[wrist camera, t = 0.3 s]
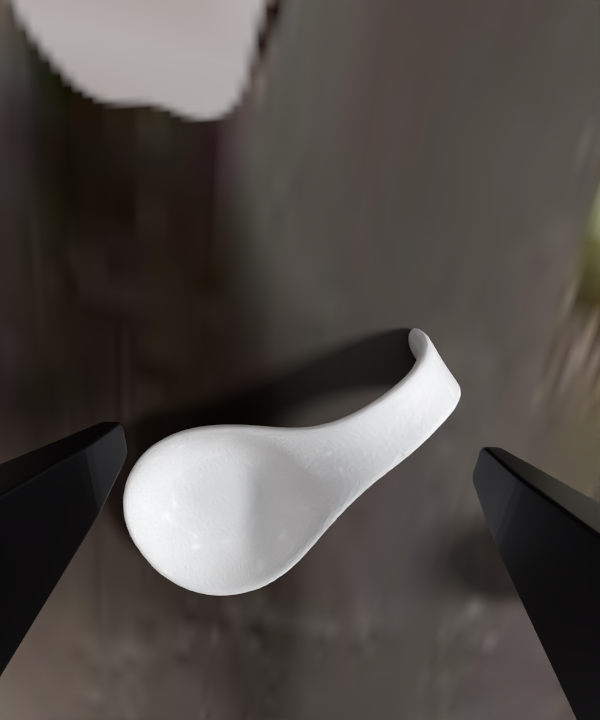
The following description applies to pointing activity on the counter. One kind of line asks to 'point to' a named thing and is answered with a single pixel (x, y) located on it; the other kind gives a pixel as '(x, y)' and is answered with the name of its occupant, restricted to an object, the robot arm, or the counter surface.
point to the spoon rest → (273, 482)
